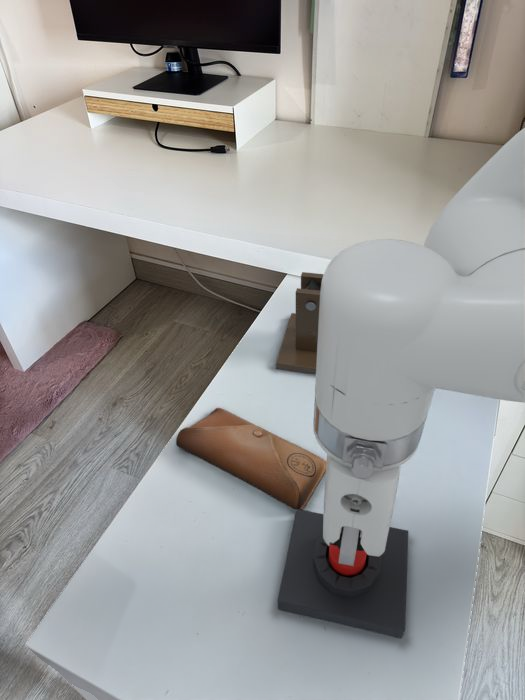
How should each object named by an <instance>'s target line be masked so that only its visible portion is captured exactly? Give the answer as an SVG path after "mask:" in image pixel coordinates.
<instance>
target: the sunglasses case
mask: <svg viewBox="0 0 525 700" xmlns="http://www.w3.org/2000/svg"><path fill="white" fill-rule="evenodd" d="M175 444H176V446H177V447H178V448H179V449H181V450H183V451H184V452H186V453H188V454H190V455H192V456H194V457H196V458H198V459H201V460H202V461H204V462H206V463H208V464H210V465H211V466H214V467H215V468H217V469H220V470H221V471H223V472H225V473H228V474H229V475H230V476H232V477H234V478H236V479H239V480H240V481H242V482H244V483H245V484H247V485H249V486H251V487H253V488H255V489H257V490H259V491H261V492H262V493H264V494H266V495H267V496H269V497H271V498H273V499H274V500H276V501H278V502H280V503H281V504H284V505H285V506H287V507H289V508H291V509H292V510H295V511H296V510H297V509H300V510H304V509H305V507H306V506H307V505H308V503H309V502H310V500H311V498H312V496H313V495H314V493H315V491H316V489H317V488H318V487H319V484H320V482H321V480H323V479H322V478H323V477H324V475H326V462H327V460H325V459H323V458H322V457H321V456H319V455H317V454H315V453H314V452H311V451H309V450H307V449H305V448H303V447H301V446H300V445H297V444H295V443H293V442H291V441H288V440H287V439H284V438H282V437H281V436H278V435H276V434H275V433H272V432H270V431H268V430H267V429H265V428H263V427H262V426H259V425H256V424H254V423H252V422H250V421H248V420H246V419H245V418H242V417H240V416H238V415H236V414H235V413H232V412H230V411H228V410H227V409H225V408H223V407H222V408H221V407H216V408H214V410H212V411H211V412H210V413H209V414H208V415H207V416H205V417H204V418H202V419H200V420H199V421H197V422H195V423H193V424H192V425H190V426H187V427H184V428H182V429H180V430H179V432H178V434H177V436H176V439H175Z"/></svg>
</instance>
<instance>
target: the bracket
mask: <svg viewBox="0 0 525 700" xmlns="http://www.w3.org/2000/svg"><path fill="white" fill-rule="evenodd" d="M323 275H324V273H317V272H316V273H314V272H306V271H302V272H301V275H300V287H298V288H296V290H295V312H291V314H290V316H289V319H288V322H287V326H286V329H285V332H284V336H283V339H282V342H281V345H280V348H279V351H278V355H277V357H276V361H275V369H277V370H283V371H290V372H297V373H298V372H299V373H304V374H305V373H306V374H313V375H316V363H317V344H318V325H319V306H320V291H319V290H309V289H304V288H305V287H306V285H307V284H308V283H309V281H310V280H311V279H312V280H314V281H316V282H317V283H319V284H321V282H322V278H323Z"/></svg>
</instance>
